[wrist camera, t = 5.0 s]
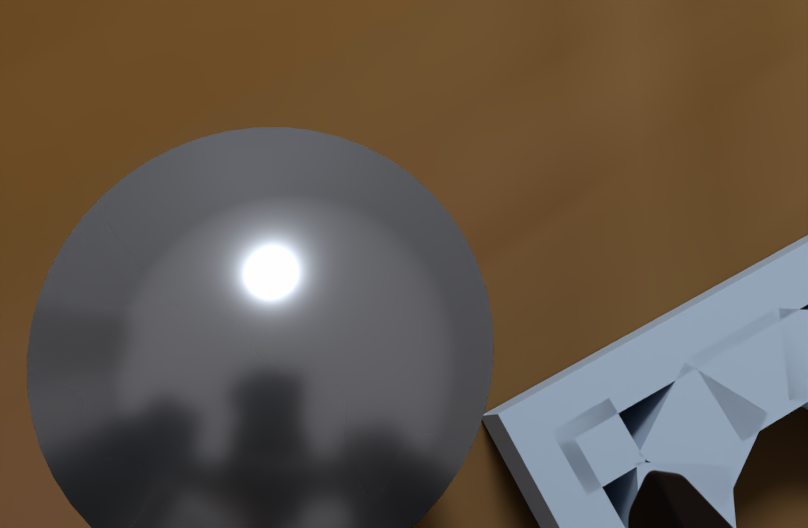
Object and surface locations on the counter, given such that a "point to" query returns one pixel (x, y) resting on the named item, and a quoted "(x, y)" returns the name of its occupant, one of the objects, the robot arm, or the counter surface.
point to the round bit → (261, 341)
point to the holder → (664, 400)
